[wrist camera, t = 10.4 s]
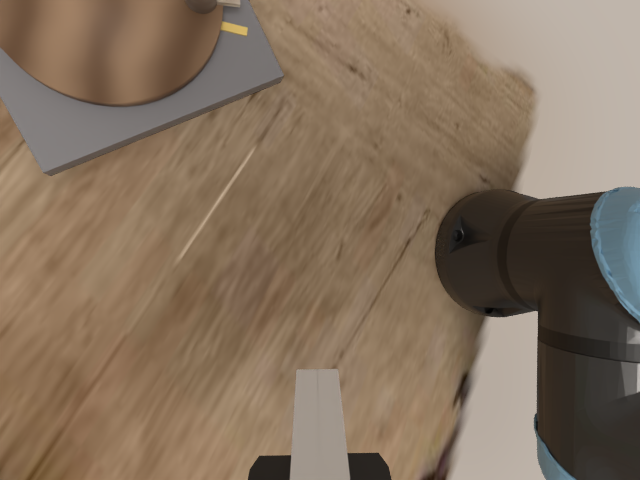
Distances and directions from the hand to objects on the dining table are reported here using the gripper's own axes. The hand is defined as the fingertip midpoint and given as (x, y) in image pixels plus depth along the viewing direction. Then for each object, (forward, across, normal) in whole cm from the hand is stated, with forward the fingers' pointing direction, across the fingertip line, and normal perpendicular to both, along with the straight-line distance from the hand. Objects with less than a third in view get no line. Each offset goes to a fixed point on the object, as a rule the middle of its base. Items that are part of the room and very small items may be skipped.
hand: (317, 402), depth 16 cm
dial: (+30, -18, +21) cm, 41 cm away
